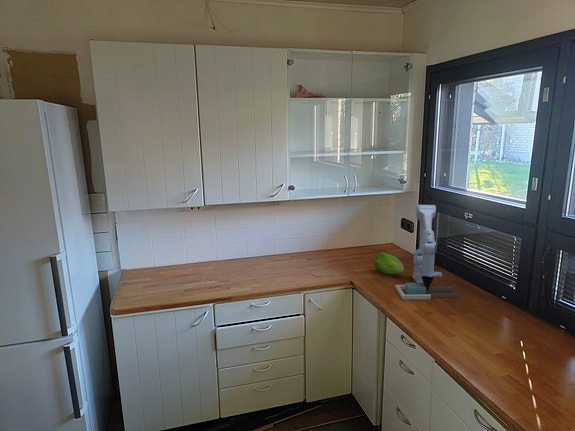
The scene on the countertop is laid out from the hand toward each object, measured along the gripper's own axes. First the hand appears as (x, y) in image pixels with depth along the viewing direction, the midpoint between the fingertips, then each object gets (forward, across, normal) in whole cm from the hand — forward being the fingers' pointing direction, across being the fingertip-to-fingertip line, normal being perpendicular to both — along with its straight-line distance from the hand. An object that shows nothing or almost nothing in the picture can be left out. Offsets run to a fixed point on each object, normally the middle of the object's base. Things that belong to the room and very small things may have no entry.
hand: (426, 289), depth 201 cm
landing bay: (+2, -6, 0) cm, 7 cm away
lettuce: (+3, -12, +28) cm, 31 cm away
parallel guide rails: (+2, +8, 0) cm, 8 cm away
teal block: (+3, -6, 0) cm, 6 cm away
